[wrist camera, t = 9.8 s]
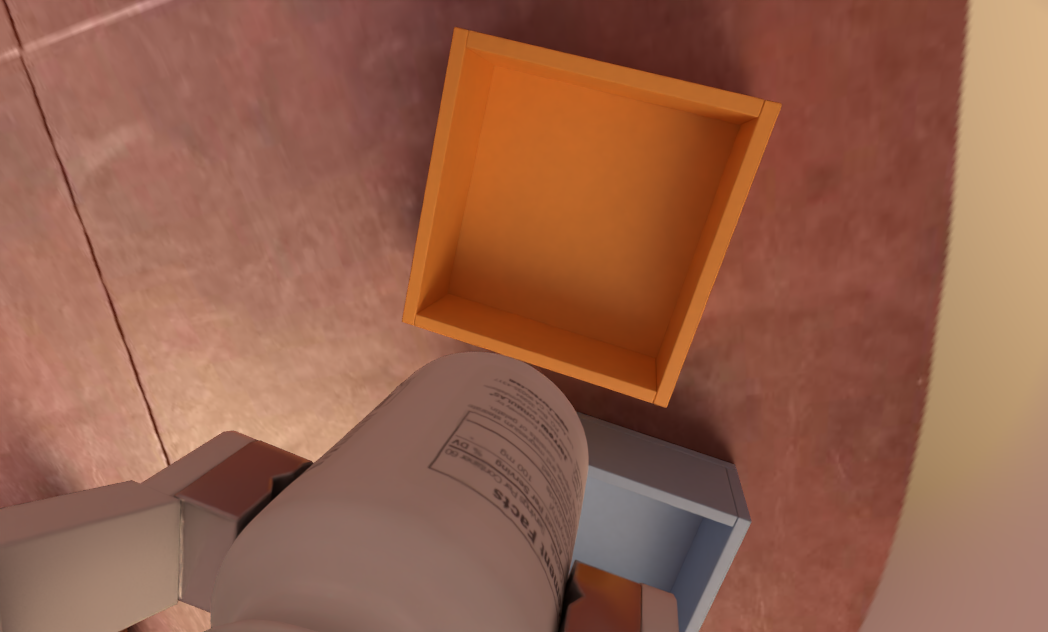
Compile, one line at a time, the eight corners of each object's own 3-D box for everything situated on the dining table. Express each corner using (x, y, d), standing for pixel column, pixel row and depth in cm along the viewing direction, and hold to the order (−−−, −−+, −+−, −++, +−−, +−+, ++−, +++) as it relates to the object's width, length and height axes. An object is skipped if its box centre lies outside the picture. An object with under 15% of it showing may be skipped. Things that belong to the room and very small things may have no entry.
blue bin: (735, 464, 27) (752, 522, 22) (658, 635, 31) (660, 712, 26) (511, 389, 28) (486, 429, 24) (466, 560, 32) (437, 621, 28)
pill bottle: (413, 526, 12) (79, 1046, 5) (377, 351, 11) (-120, 696, 4) (600, 534, 11) (516, 1213, 4) (581, 341, 10) (410, 792, 3)
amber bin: (756, 115, 22) (782, 103, 18) (663, 368, 26) (666, 408, 22) (488, 51, 24) (453, 26, 20) (439, 297, 28) (401, 321, 24)
